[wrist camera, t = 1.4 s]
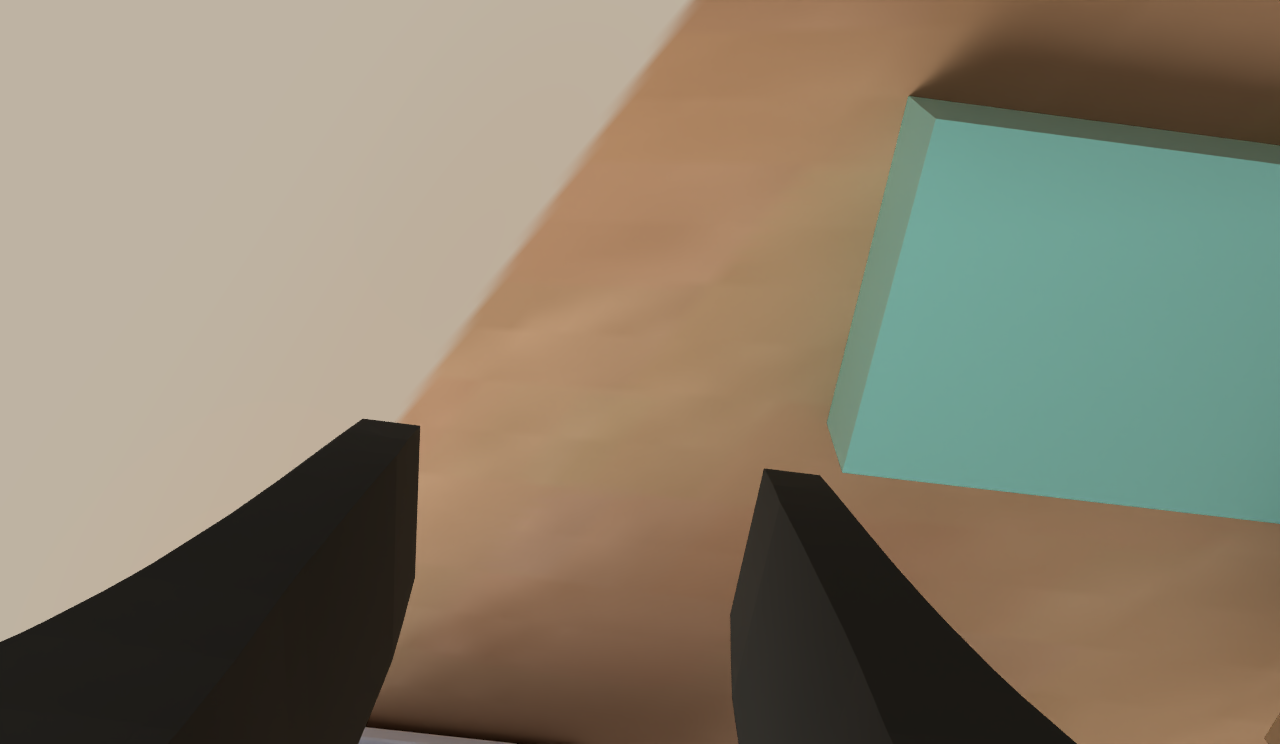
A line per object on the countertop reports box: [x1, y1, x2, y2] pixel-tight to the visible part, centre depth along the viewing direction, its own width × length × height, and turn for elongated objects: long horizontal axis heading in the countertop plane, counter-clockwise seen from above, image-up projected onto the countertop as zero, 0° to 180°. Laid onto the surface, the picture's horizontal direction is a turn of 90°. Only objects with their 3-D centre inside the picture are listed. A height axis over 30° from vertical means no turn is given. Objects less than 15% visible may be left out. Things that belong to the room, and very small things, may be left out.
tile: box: [827, 96, 1280, 524], centre depth 19 cm, size 10×7×2 cm
